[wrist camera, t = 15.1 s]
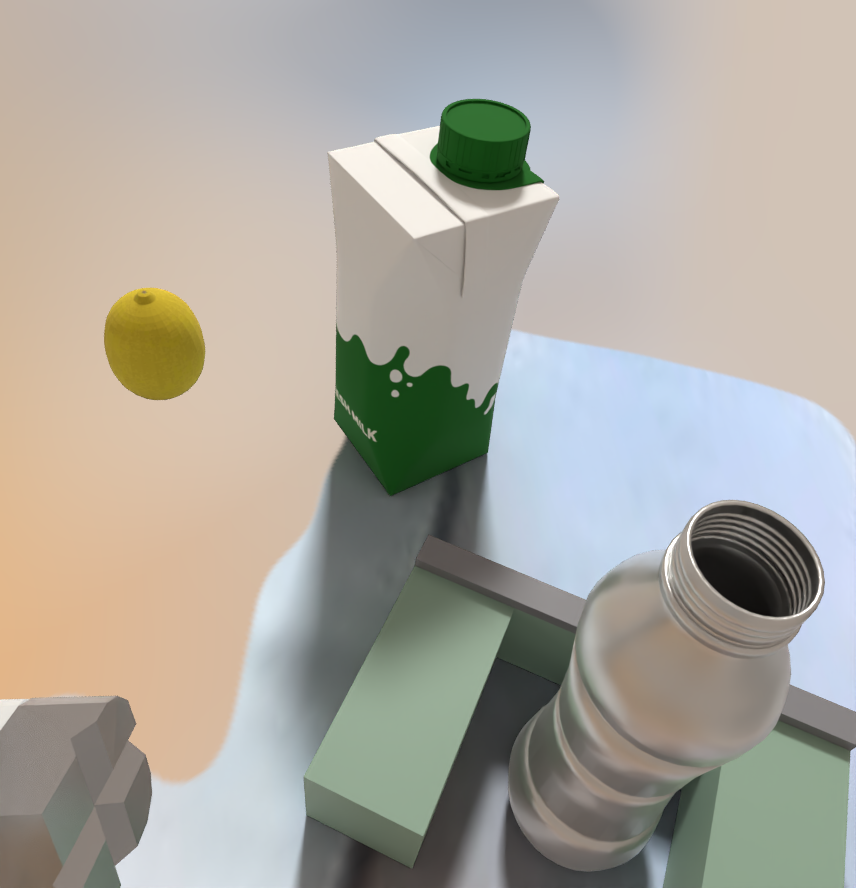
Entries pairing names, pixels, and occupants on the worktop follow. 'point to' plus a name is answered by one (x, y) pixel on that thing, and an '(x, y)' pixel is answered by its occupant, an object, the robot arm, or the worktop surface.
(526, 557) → the worktop surface
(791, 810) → the green u-shaped bracket
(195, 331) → the lemon
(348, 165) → the milk carton
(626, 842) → the plastic bottle
